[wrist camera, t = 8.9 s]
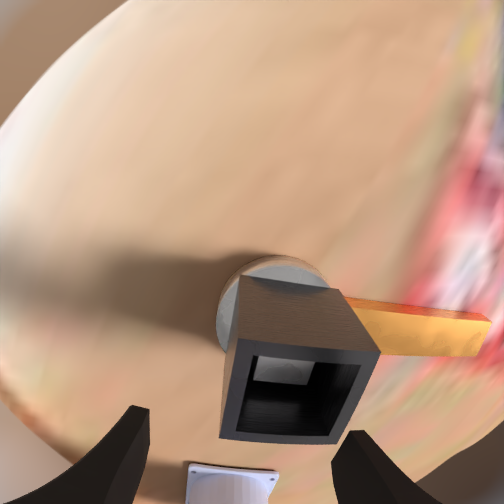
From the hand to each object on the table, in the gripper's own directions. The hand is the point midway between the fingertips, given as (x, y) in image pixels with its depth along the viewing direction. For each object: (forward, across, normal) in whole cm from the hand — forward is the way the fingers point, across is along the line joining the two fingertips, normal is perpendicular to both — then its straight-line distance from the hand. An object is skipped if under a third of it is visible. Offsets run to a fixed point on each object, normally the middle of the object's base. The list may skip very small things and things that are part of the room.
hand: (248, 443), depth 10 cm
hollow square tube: (+8, -2, -1) cm, 8 cm away
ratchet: (+10, -8, -1) cm, 13 cm away
